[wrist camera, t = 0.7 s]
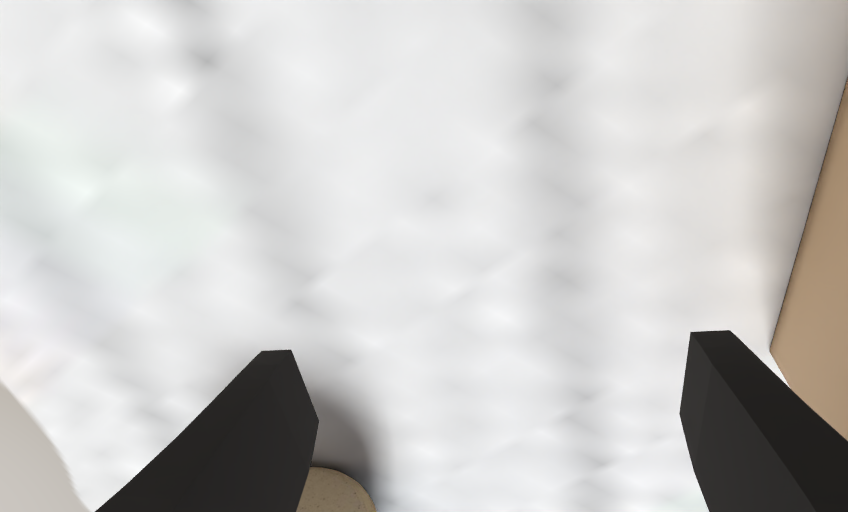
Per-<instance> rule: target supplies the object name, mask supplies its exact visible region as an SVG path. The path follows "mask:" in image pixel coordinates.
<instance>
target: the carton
mask: <svg viewBox="0 0 848 512" xmlns="http://www.w3.org/2000/svg"><path fill="white" fill-rule="evenodd" d="M770 353H771V355H772V357H773V358H774V360H775V362H776V364H777V365H778V367H779V369H780V371H781V372H782V374H783V376H784V378H785V379H786V381H787V383H788V385H789V386H790V388H791V390H792V391H793V392H794V393H795V394H797V395H798V396H799V397H800V398H801V399H802V400H803V401H804V402H805V403H806V404H807V405H808V406H809V407H810V408H812V409H813V410H814V411H815V412H816V413H817V414H818V415H819V416H820V417H822V418H823V419H824V420H825V421H826V422H827V423H828V424H829V425H831V426H832V427H833V428H834V429H835V430H836V431H837V432H838V433H839V434H841V435H842V436H843V437H844V438H845V436H846V434H847V432H848V79H847V83H846V86H845V89H844V93H843V96H842V100H841V103H840V107H839V110H838V114H837V117H836V121H835V124H834V128H833V131H832V135H831V138H830V142H829V145H828V149H827V152H826V156H825V159H824V163H823V166H822V170H821V173H820V177H819V180H818V184H817V187H816V191H815V194H814V198H813V201H812V205H811V208H810V211H809V215H808V218H807V222H806V225H805V229H804V232H803V236H802V239H801V243H800V246H799V250H798V253H797V257H796V260H795V264H794V267H793V271H792V274H791V278H790V281H789V285H788V288H787V292H786V295H785V299H784V302H783V306H782V309H781V313H780V316H779V320H778V323H777V327H776V330H775V334H774V337H773V340H772V344H771V347H770Z"/></svg>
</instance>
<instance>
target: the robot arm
mask: <svg viewBox="0 0 848 512" xmlns="http://www.w3.org/2000/svg"><path fill="white" fill-rule="evenodd" d="M680 418H681V422H682V426H683V430H684V434H685V438H686V442H687V446H688V450H689V454H690V458H691V461H692V465H693V469H694V472H695V475H696V478H697V480H698V483H699V486H700V488H701V491H702V494H703V496H704V499H705V501H706V504H707V507H708V509H709V512H848V441H847V440H846V439H845V438H844V437H843V436H842V435H841V434H839V433H838V432H837V431H836V430H835V429H834V428H833V427H832V426H831V425H829V424H828V423H827V422H826V421H825V420H824V419H823V418H822V417H820V416H819V415H818V414H817V413H816V412H815V411H814V410H813V409H812V408H810V407H809V406H808V405H807V404H806V403H805V402H804V401H803V400H802V399H801V398H800V397H799V396H798V395H797V394H795V393H794V392H793V391H792V390H791V389H790V388H789V387H788V386H787V385H786V384H785V383H784V382H783V381H782V380H781V379H780V378H779V377H778V376H777V375H776V374H775V373H773V372H772V371H771V370H770V369H769V368H768V367H767V366H766V365H765V364H764V363H763V362H762V361H761V360H760V359H759V358H758V357H757V356H756V355H755V354H754V353H753V352H752V351H751V350H750V349H749V348H748V347H747V346H746V345H745V344H744V343H743V342H742V341H741V340H740V339H739V338H738V337H737V336H736V335H734V334H733V333H732V332H731V331H730V330H725V331H703V332H691V333H690V341H689V348H688V355H687V363H686V370H685V377H684V385H683V392H682V400H681V407H680ZM318 423H319V420H318V417H317V415H316V412H315V410H314V407H313V405H312V402H311V399H310V397H309V394H308V392H307V389H306V387H305V384H304V381H303V379H302V376H301V374H300V371H299V369H298V366H297V363H296V361H295V358H294V356H293V353H292V351H291V350H274V351H261V352H260V353H259V354H258V355H257V356H256V357H255V358H254V359H253V360H252V361H251V362H250V363H249V364H248V365H247V366H246V367H245V368H244V369H243V370H242V371H241V372H240V373H239V374H238V375H237V376H236V377H235V378H234V379H233V380H232V381H231V382H230V384H229V385H228V386H227V387H226V388H225V389H224V390H223V391H222V392H221V393H220V394H219V395H218V396H217V397H216V398H215V399H214V400H213V401H212V402H211V403H210V404H209V405H208V406H207V407H206V408H205V409H204V410H203V411H202V412H201V413H200V414H199V415H198V416H197V417H196V418H195V419H194V420H193V421H192V422H191V423H190V424H189V425H188V426H187V427H186V428H185V429H184V430H183V431H182V432H181V433H180V434H179V435H178V436H177V437H176V438H175V439H174V440H173V441H172V442H171V443H170V444H169V445H168V446H167V447H166V448H165V449H164V450H163V451H162V452H161V453H159V454H158V455H157V456H156V457H155V458H154V459H153V460H152V461H151V462H150V463H149V464H148V465H147V466H146V467H145V468H143V469H142V470H141V471H140V472H139V473H138V474H137V475H136V476H135V477H134V478H133V479H132V480H131V481H130V482H129V483H127V484H126V485H125V486H124V487H123V488H122V489H121V490H120V491H118V492H117V493H116V494H115V495H114V496H113V497H112V498H110V499H109V500H108V501H107V502H106V503H105V504H103V505H102V506H101V507H100V508H99V509H97V510H96V511H95V512H296V511H297V508H298V505H299V501H300V498H301V495H302V492H303V489H304V486H305V483H306V480H307V477H308V473H309V469H310V465H311V460H312V455H313V450H314V445H315V440H316V434H317V429H318Z"/></svg>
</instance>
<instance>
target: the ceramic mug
mask: <svg viewBox="0 0 848 512" xmlns="http://www.w3.org/2000/svg"><path fill="white" fill-rule="evenodd" d="M296 512H377V510H376V508H375V506H374V504H373V501H372V499H371V498H370V496H369V495H368V493H367V492H366V491H365V489H364V488H363V487H362V486H361V485H360V484H359V483H358V482H357V481H355V480H354V479H353V478H351V477H349V476H347V475H345V474H343V473H341V472H339V471H337V470H332V469H328V468H321V467H310V469H309V473H308V477H307V480H306V483H305V486H304V489H303V492H302V495H301V498H300V501H299V505H298V508H297V511H296Z"/></svg>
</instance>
